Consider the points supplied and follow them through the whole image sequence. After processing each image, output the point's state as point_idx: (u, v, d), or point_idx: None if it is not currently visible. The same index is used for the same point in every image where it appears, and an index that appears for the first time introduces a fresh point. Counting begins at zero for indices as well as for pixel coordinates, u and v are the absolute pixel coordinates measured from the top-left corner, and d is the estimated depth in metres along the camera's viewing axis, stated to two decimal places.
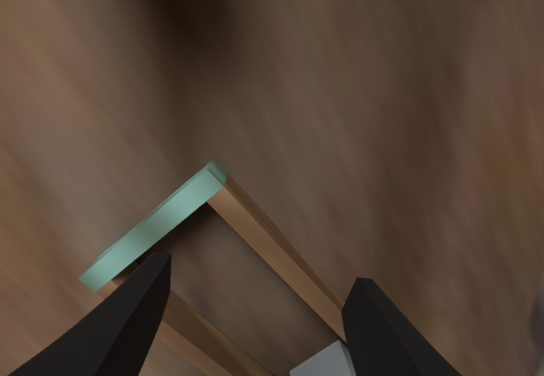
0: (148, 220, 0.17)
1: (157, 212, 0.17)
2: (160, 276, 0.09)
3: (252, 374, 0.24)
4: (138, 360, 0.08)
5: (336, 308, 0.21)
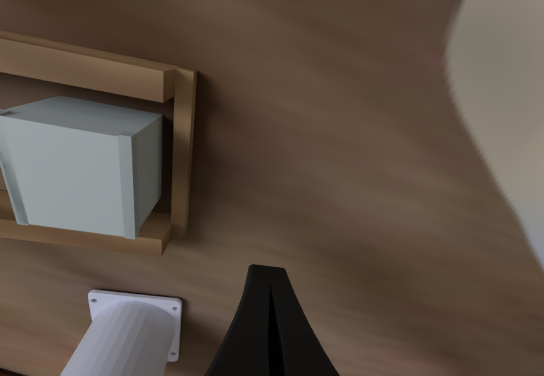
0: None
1: None
2: None
3: None
4: None
5: None
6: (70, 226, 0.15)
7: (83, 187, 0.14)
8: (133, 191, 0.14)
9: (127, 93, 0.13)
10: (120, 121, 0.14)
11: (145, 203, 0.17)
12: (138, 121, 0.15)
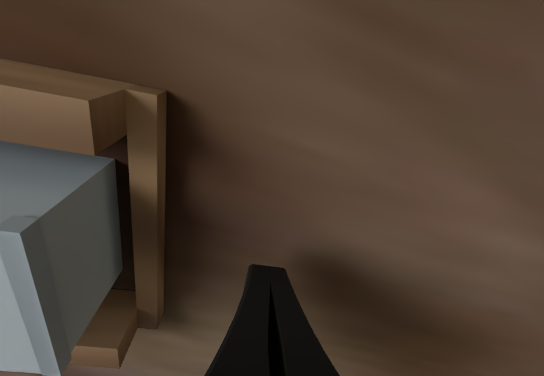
0: None
1: None
2: None
3: None
4: None
5: None
6: None
7: None
8: (44, 314, 0.08)
9: (25, 140, 0.07)
10: (24, 185, 0.08)
11: (85, 304, 0.10)
12: (61, 181, 0.09)
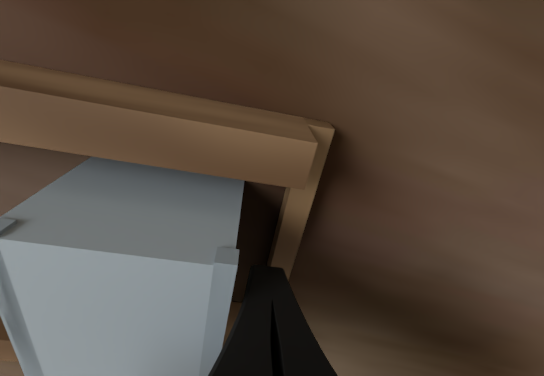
0: None
1: None
2: None
3: None
4: None
5: None
6: None
7: (141, 334, 0.08)
8: (223, 336, 0.08)
9: (248, 177, 0.08)
10: (198, 214, 0.09)
11: None
12: (222, 208, 0.09)
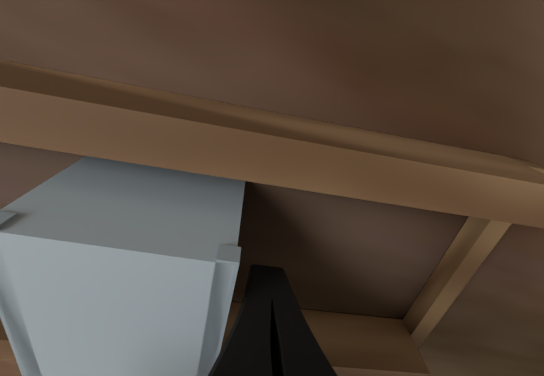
0: None
1: None
2: None
3: None
4: None
5: (154, 118, 0.07)
6: None
7: (140, 330, 0.08)
8: (223, 333, 0.08)
9: (508, 219, 0.09)
10: (199, 210, 0.09)
11: None
12: (223, 205, 0.09)
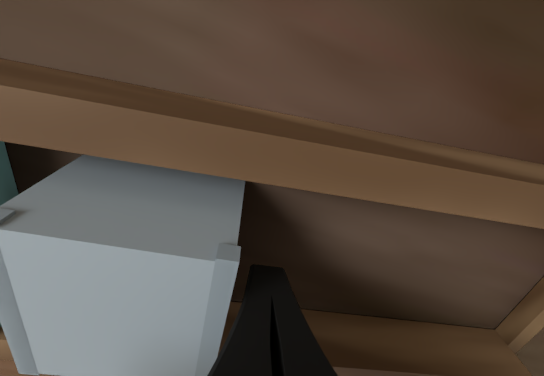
0: None
1: None
2: None
3: (333, 338, 0.14)
4: None
5: (378, 158, 0.08)
6: None
7: (138, 329, 0.08)
8: (222, 333, 0.08)
9: None
10: (199, 210, 0.09)
11: None
12: (223, 204, 0.09)
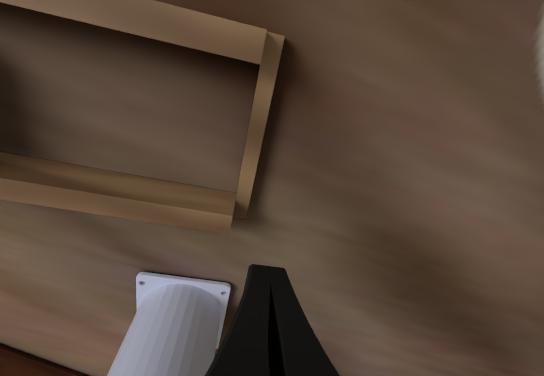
0: None
1: None
2: None
3: (62, 175, 0.17)
4: None
5: None
6: None
7: None
8: None
9: (225, 53, 0.13)
10: None
11: None
12: None
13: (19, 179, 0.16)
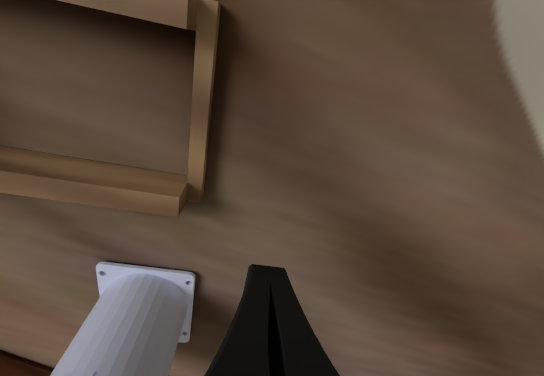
0: None
1: None
2: None
3: (1, 158, 0.16)
4: None
5: None
6: None
7: None
8: None
9: (146, 17, 0.12)
10: None
11: None
12: None
13: None
